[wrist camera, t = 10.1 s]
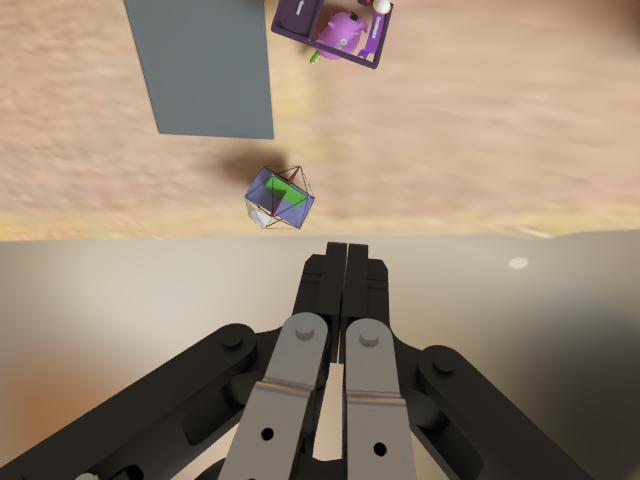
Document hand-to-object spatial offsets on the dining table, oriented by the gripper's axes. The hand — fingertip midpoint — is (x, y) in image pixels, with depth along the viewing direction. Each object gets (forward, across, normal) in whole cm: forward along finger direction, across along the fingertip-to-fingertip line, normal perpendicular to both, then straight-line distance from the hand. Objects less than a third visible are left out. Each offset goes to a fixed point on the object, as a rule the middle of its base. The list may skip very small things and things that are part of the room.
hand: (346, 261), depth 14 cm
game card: (+25, +8, -6) cm, 27 cm away
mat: (+27, +16, -1) cm, 31 cm away
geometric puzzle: (+27, +8, +11) cm, 30 cm away
